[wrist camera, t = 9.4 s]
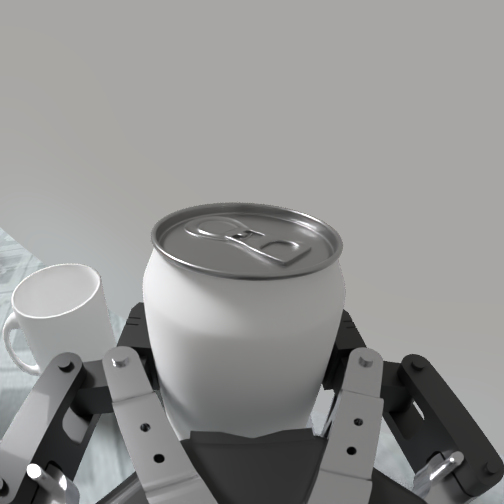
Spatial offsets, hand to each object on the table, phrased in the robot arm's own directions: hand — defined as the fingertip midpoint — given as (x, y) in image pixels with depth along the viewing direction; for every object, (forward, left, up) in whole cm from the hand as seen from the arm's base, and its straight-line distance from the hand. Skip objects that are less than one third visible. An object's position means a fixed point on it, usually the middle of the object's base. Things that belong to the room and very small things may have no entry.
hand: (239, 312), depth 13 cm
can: (0, -2, -7) cm, 8 cm away
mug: (-17, +9, -18) cm, 26 cm away
